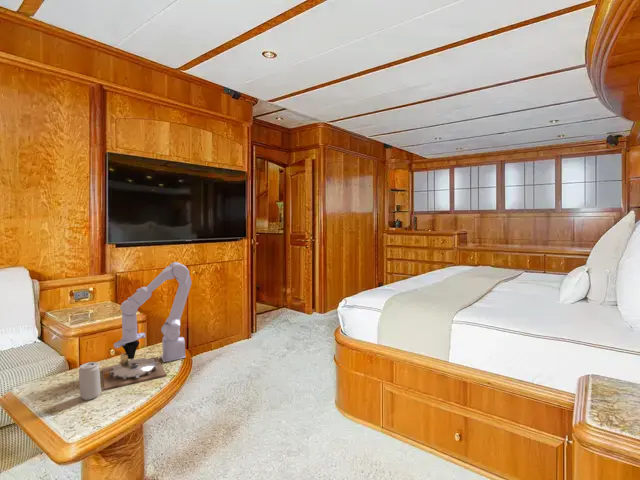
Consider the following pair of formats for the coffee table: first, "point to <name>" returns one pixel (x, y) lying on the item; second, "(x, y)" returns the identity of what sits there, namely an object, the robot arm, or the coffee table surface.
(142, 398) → the coffee table surface
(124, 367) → the sprocket wheel
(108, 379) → the walnut board
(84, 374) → the beverage can
